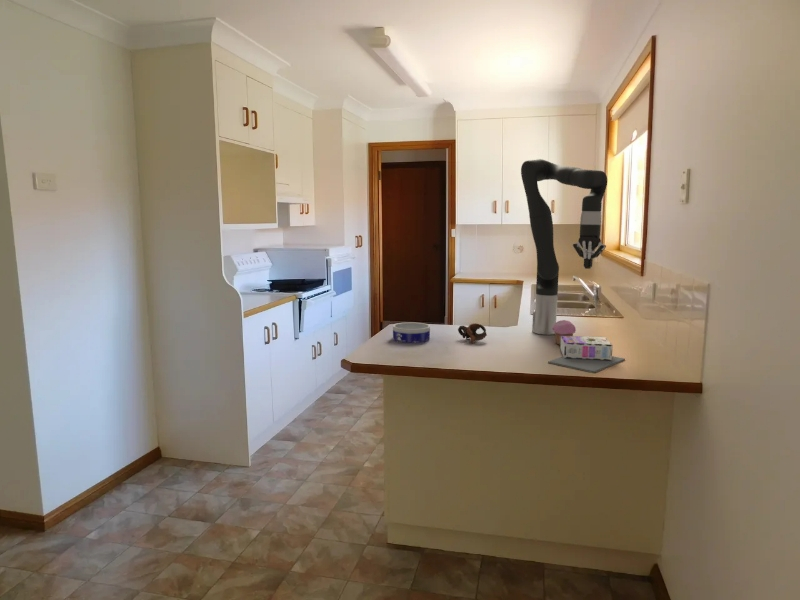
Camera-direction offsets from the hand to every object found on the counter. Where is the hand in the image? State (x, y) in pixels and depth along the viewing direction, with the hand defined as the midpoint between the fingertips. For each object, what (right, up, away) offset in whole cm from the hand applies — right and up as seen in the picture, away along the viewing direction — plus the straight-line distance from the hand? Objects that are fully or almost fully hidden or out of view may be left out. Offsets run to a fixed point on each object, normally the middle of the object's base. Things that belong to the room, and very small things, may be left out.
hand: (587, 268), depth 214 cm
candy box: (-13, -29, -11) cm, 34 cm away
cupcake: (-7, -30, +7) cm, 32 cm away
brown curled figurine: (-43, -29, +13) cm, 54 cm away
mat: (-7, -34, -18) cm, 39 cm away
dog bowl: (-68, -29, +14) cm, 75 cm away
